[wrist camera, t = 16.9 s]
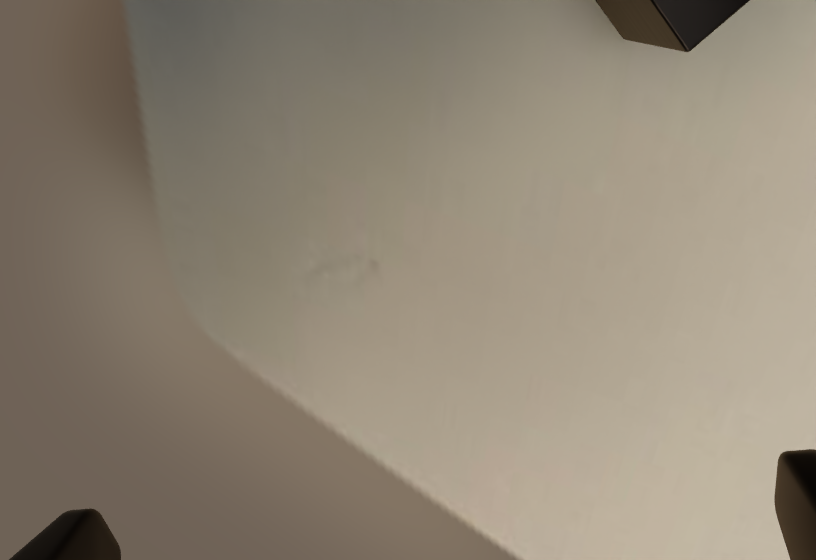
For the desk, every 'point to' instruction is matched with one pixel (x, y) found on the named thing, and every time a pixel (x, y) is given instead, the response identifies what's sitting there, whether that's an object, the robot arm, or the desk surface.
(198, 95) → the desk surface
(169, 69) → the desk surface
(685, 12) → the base
